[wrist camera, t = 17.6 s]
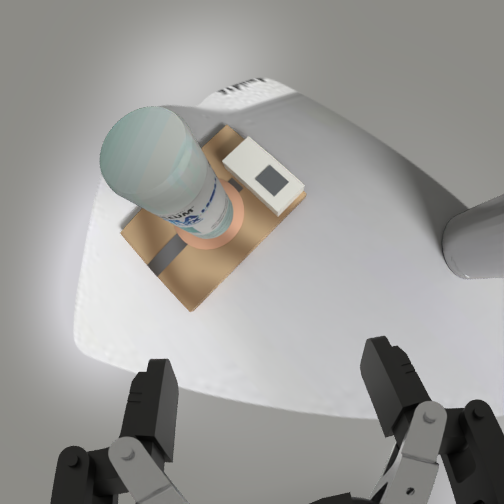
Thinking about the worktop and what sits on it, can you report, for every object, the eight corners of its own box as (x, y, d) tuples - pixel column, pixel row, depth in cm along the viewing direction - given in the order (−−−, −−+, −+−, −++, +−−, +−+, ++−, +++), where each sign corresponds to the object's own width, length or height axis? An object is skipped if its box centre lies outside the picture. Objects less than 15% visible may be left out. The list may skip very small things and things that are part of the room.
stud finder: (225, 168, 39) (221, 160, 36) (250, 145, 39) (248, 135, 36) (277, 216, 37) (277, 211, 35) (303, 191, 37) (304, 184, 35)
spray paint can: (175, 230, 38) (83, 183, 18) (194, 182, 38) (123, 99, 19) (224, 247, 37) (164, 209, 18) (242, 197, 38) (205, 113, 18)
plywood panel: (228, 129, 41) (226, 124, 39) (305, 197, 39) (306, 193, 37) (125, 234, 40) (119, 232, 39) (193, 311, 39) (189, 312, 37)
